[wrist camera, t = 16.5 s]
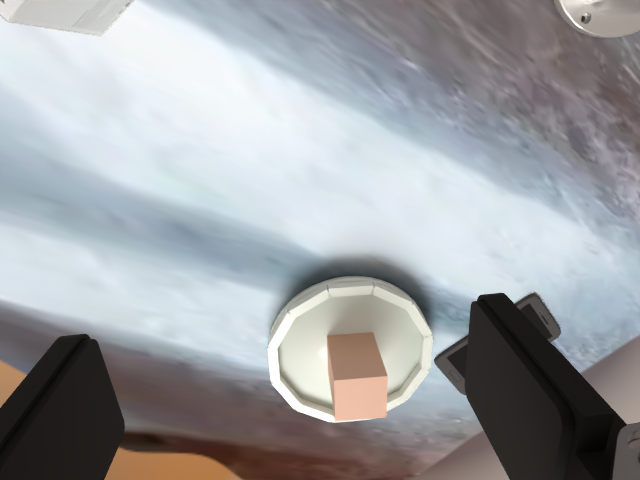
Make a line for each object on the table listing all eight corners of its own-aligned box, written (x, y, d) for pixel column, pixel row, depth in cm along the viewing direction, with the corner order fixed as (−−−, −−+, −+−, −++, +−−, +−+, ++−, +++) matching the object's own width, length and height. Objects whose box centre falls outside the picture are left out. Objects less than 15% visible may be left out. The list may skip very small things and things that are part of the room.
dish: (431, 267, 45) (439, 279, 43) (421, 399, 52) (427, 415, 50) (261, 279, 44) (260, 291, 42) (274, 412, 51) (273, 429, 49)
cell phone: (430, 357, 51) (432, 361, 50) (532, 289, 48) (536, 292, 47) (461, 393, 53) (464, 397, 52) (560, 330, 51) (564, 334, 50)
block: (372, 331, 46) (387, 376, 40) (372, 369, 48) (386, 417, 42) (326, 335, 46) (334, 380, 39) (327, 372, 48) (335, 421, 41)
